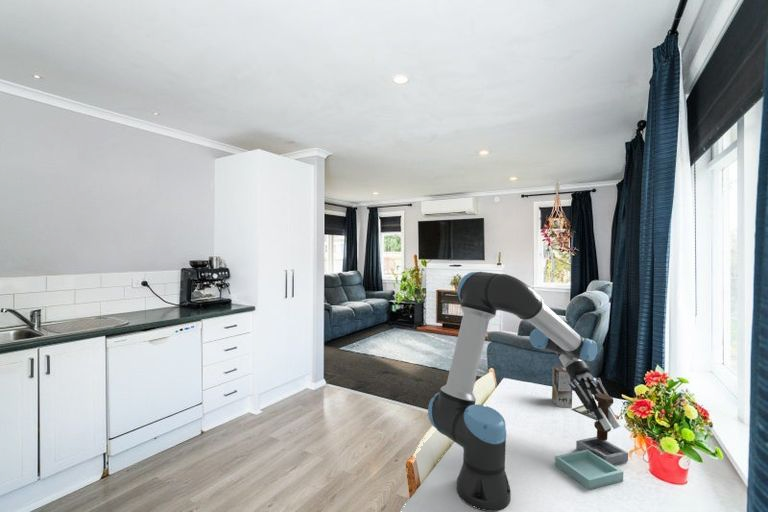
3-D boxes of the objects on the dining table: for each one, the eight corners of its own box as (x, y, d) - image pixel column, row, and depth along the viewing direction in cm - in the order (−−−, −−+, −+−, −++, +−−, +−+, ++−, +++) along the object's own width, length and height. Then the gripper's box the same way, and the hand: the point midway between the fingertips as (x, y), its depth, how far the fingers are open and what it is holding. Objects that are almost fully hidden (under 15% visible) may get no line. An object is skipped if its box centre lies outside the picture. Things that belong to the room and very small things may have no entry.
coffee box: (572, 408, 164) (573, 372, 163) (557, 406, 165) (558, 371, 164) (565, 399, 173) (566, 366, 172) (551, 398, 174) (552, 365, 174)
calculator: (606, 422, 149) (571, 408, 162) (606, 425, 149) (571, 410, 162) (621, 416, 155) (587, 403, 168) (621, 419, 155) (587, 405, 168)
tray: (589, 489, 108) (589, 480, 108) (554, 464, 120) (555, 456, 120) (623, 480, 112) (623, 471, 112) (587, 457, 124) (587, 449, 124)
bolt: (613, 444, 123) (615, 400, 123) (597, 442, 124) (599, 398, 124) (606, 436, 128) (608, 393, 128) (591, 434, 129) (592, 392, 129)
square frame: (605, 467, 119) (605, 458, 119) (576, 449, 130) (576, 440, 130) (627, 461, 122) (628, 452, 122) (597, 444, 133) (598, 436, 133)
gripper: (584, 367, 143) (622, 429, 128) (551, 370, 138) (587, 435, 122) (596, 357, 138) (638, 421, 122) (563, 360, 133) (602, 427, 117)
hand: (612, 428), depth 122 cm, fingers closed on bolt, 3 cm apart
